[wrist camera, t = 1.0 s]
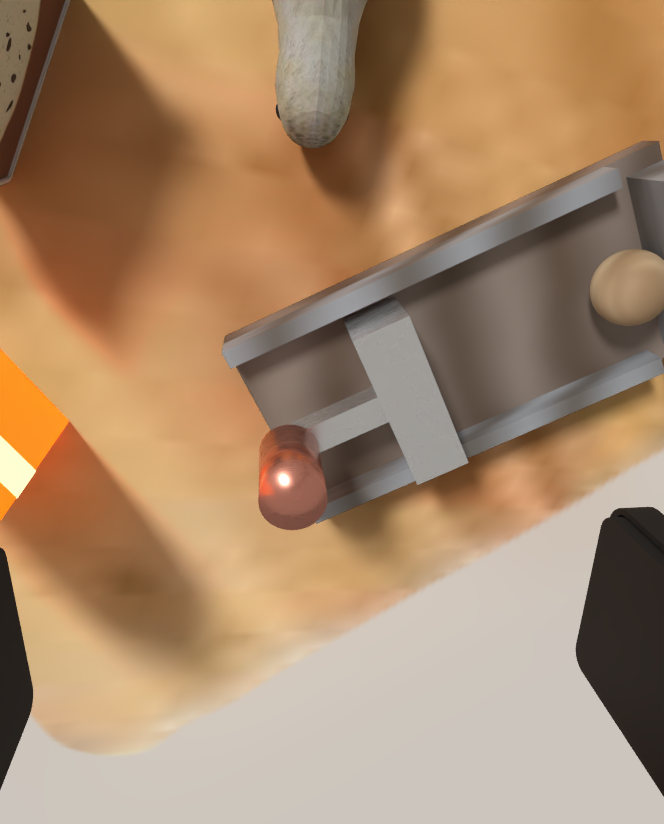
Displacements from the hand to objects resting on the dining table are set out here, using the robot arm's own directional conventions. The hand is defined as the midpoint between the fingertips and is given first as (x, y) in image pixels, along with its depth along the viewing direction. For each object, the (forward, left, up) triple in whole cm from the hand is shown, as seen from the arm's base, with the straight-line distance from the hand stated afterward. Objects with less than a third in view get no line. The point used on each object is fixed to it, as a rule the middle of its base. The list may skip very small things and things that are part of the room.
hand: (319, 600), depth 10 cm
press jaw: (0, +8, -25) cm, 26 cm away
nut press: (-8, +8, -27) cm, 29 cm away
